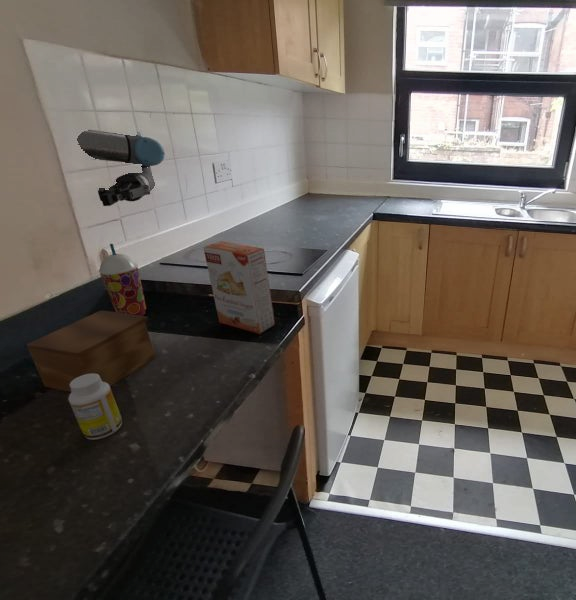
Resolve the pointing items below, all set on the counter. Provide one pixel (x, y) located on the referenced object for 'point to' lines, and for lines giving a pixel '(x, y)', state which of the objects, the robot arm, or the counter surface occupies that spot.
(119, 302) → the smoothie
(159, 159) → the robot arm
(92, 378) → the supplement bottle
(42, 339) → the lid
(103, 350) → the chest
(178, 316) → the counter surface
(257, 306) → the cracker box
